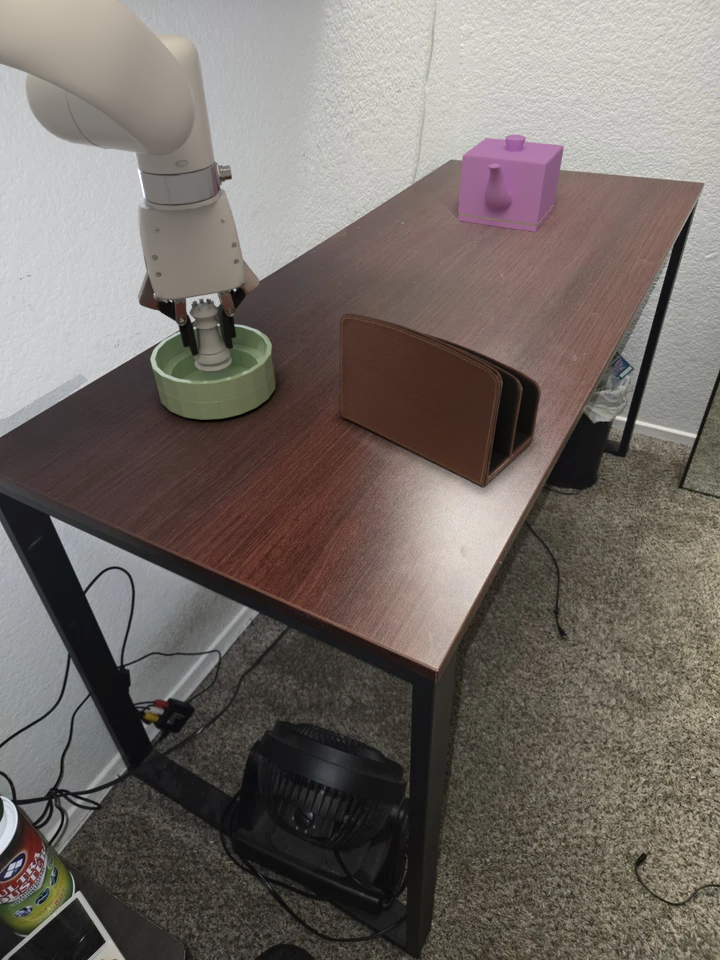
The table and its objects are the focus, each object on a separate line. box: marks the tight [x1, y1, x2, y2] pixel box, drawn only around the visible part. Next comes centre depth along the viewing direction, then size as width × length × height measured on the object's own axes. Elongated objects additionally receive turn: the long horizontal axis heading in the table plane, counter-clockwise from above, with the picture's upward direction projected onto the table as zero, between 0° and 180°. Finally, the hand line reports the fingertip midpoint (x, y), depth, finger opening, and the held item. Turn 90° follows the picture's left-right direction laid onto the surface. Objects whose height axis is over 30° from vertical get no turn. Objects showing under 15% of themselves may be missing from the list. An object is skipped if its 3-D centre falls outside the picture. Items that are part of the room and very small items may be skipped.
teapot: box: [457, 134, 565, 233], centre depth 122 cm, size 15×25×14 cm, turn 153°
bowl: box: [149, 323, 277, 421], centre depth 80 cm, size 14×14×6 cm
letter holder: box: [339, 312, 542, 488], centre depth 70 cm, size 10×20×14 cm, turn 49°
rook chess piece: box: [189, 297, 232, 373], centre depth 77 cm, size 4×4×8 cm
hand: (210, 345), depth 78 cm, fingers closed on rook chess piece, 3 cm apart
